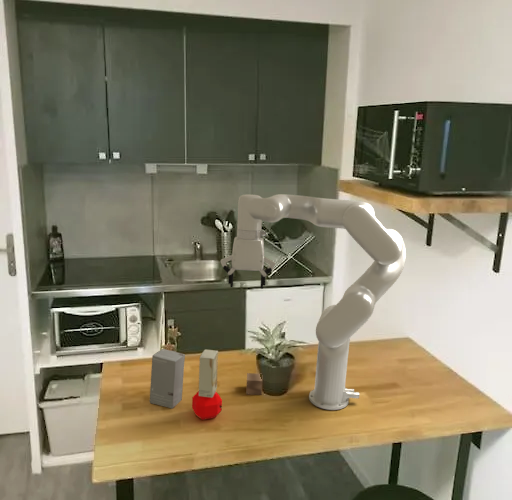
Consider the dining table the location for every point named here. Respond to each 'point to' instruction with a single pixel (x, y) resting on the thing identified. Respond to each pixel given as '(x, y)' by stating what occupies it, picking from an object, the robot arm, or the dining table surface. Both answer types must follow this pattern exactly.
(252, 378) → the walnut block
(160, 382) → the skincare box
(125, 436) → the dining table surface
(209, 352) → the skincare box
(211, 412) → the ball
